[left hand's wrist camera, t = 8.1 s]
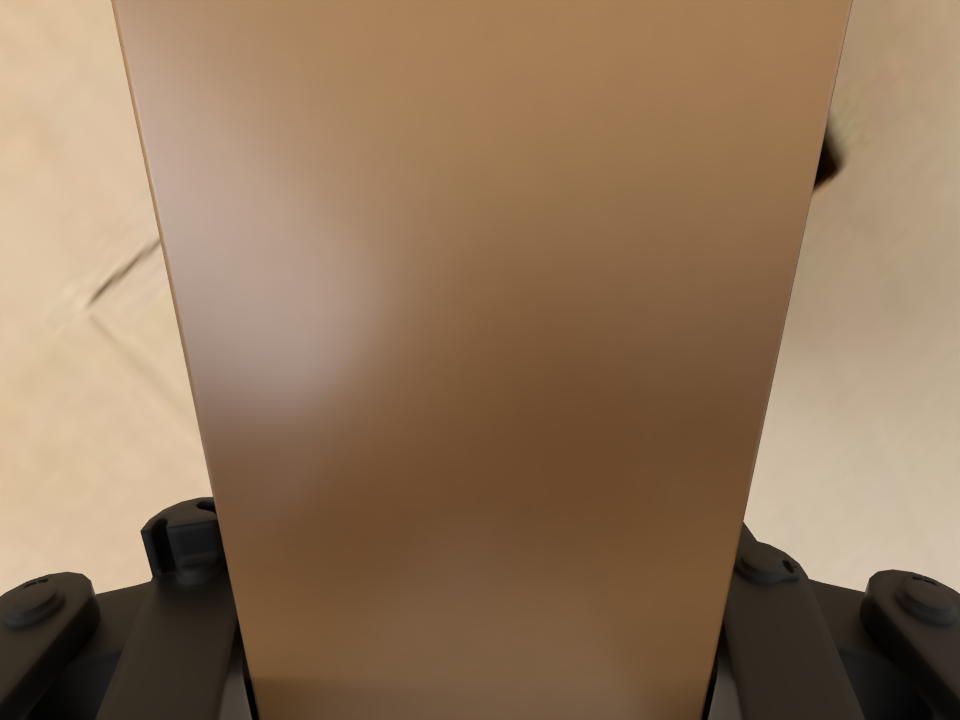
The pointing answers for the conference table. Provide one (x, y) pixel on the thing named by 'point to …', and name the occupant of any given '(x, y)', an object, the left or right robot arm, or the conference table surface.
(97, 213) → the conference table surface
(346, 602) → the bar
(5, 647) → the left robot arm
